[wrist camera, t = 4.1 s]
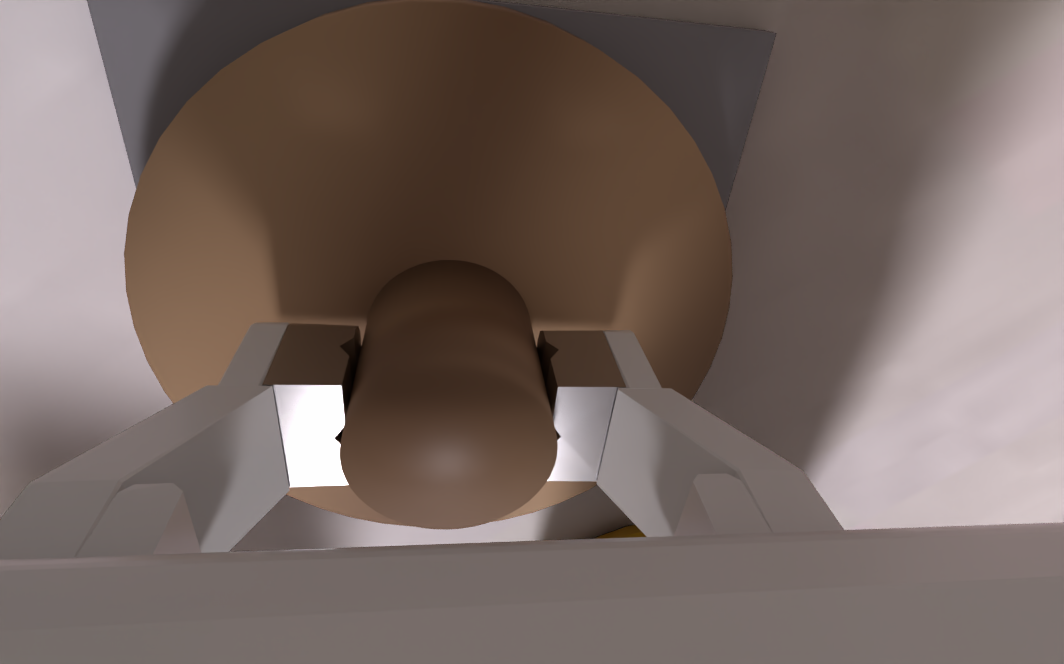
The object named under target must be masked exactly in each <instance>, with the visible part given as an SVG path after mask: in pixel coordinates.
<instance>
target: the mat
mask: <svg viewBox="0 0 1064 664" xmlns="http://www.w3.org/2000/svg"><path fill="white" fill-rule="evenodd" d="M372 1H381V0H87V2H88V6H89V10H90V14H91V18H92V21H93V25H94V29H95V33H96V37H97V40H98V44H99V48H100V52H101V56H102V60H103V63H104V67H105V71H106V75H107V79H108V82H109V86H110V90H111V94H112V98H113V101H114V105H115V109H116V113H117V117H118V121H119V124H120V128H121V132H122V136H123V140H124V143H125V147H126V151H127V155H128V159H129V163H130V166H131V170H132V174H133V178H134V182H135V185H136V189H137V186H138V182H139V179H140V176H141V174H142V172H143V170H144V168H145V166H146V164H147V162H148V160H149V158H150V156H151V154H152V152H153V150H154V148H155V146H156V144H157V142H158V140H159V138H160V137H161V135H162V134H163V133H164V131H165V130H166V129H167V127H168V126H169V125H170V123H171V122H172V121H173V119H174V118H175V117H176V115H177V114H178V113H179V111H180V110H181V109H182V107H183V106H184V105H185V103H186V102H187V101H188V100H189V99H190V98H191V97H192V96H193V95H194V94H195V93H197V92H198V91H199V90H200V89H201V88H202V87H203V86H204V85H205V84H206V83H207V82H208V81H209V80H210V79H211V78H213V77H214V76H215V75H216V74H217V73H218V72H219V71H220V70H221V69H223V68H224V67H226V66H227V65H229V64H230V63H232V62H233V61H235V60H236V59H238V58H239V57H241V56H242V55H244V54H245V53H247V52H248V51H250V50H251V49H253V48H254V47H256V46H257V45H259V44H260V43H262V42H264V41H266V40H268V39H271V38H273V37H275V36H277V35H279V34H281V33H283V32H285V31H288V30H290V29H292V28H294V27H297V26H299V25H301V24H303V23H305V22H308V21H310V20H312V19H314V18H316V17H319V16H321V15H323V14H326V13H330V12H333V11H337V10H341V9H344V8H348V7H352V6H355V5H359V4H363V3H366V2H372ZM472 1H477V2H483V3H488V4H493V5H499V6H504V7H507V8H510V9H513V10H516V11H519V12H522V13H525V14H528V15H531V16H534V17H537V18H540V19H542V20H545V21H548V22H550V23H551V24H553V25H555V26H557V27H559V28H561V29H563V30H565V31H567V32H569V33H571V34H573V35H575V36H577V37H579V38H581V39H583V40H585V41H586V42H588V43H589V44H591V45H593V46H594V47H596V48H597V49H599V50H601V51H602V52H604V53H605V54H606V55H608V56H609V57H610V58H612V59H613V60H615V61H616V62H617V63H619V64H620V65H622V66H623V67H624V68H626V69H627V70H629V71H630V72H631V73H633V74H634V75H636V76H637V77H638V78H639V79H640V80H642V81H643V82H644V83H645V84H646V85H647V86H648V87H649V88H650V89H651V90H652V91H653V92H654V93H655V94H656V95H657V96H658V97H659V98H660V99H661V100H662V101H663V102H664V103H665V104H666V105H667V106H668V107H669V108H670V109H671V110H672V112H673V113H674V114H675V116H676V117H677V118H678V120H679V121H680V122H681V124H682V125H683V126H684V128H685V129H686V130H687V132H688V133H689V134H690V136H691V137H692V138H693V139H694V141H695V143H696V145H697V147H698V148H699V150H700V152H701V154H702V156H703V158H704V160H705V161H706V163H707V165H708V167H709V169H710V171H711V173H712V174H713V177H714V180H715V183H716V186H717V189H718V191H719V194H720V197H721V200H722V203H723V205H724V208H725V210H726V207H727V203H728V200H729V196H730V193H731V189H732V186H733V182H734V179H735V175H736V172H737V168H738V165H739V161H740V158H741V154H742V151H743V148H744V144H745V141H746V137H747V134H748V130H749V127H750V123H751V120H752V116H753V113H754V109H755V106H756V102H757V99H758V96H759V92H760V89H761V85H762V82H763V78H764V75H765V71H766V68H767V64H768V61H769V57H770V54H771V50H772V47H773V43H774V40H775V37H776V33H773V32H769V31H765V30H756V29H746V28H737V27H728V26H719V25H710V24H700V23H691V22H682V21H673V20H664V19H654V18H645V17H636V16H627V15H618V14H608V13H599V12H590V11H581V10H572V9H562V8H553V7H544V6H535V5H526V4H516V3H507V2H498V1H489V0H472Z"/></svg>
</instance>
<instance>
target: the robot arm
mask: <svg viewBox="0 0 1064 664" xmlns="http://www.w3.org/2000/svg"><path fill="white" fill-rule="evenodd" d="M360 351H361V335H360V329H359V326H352V325H327V324H302V323H291V324H290V323H284V322H256V323H254V324H252V325H251V326H250V327H249V329H248V331H247V332H246V334H245V336H244V338H243V340H242V342H241V343H240V345H239V347H238V349H237V351H236V353H235V355H234V356H233V358H232V360H231V362H230V364H229V366H228V367H227V369H226V371H225V373H224V375H223V377H222V379H221V380H220V382H219V384H218V385H207V386H205V387H203V388H201V389H199V390H198V391H196V392H194V393H192V394H190V395H188V396H187V397H185V398H183V399H181V400H179V401H178V402H176V403H174V404H172V405H170V406H168V407H167V408H165V409H163V410H161V411H159V412H157V413H156V414H154V415H152V416H150V417H148V418H147V419H145V420H143V421H141V422H139V423H137V424H136V425H134V426H132V427H130V428H128V429H126V430H125V431H123V432H121V433H119V434H117V435H116V436H114V437H112V438H110V439H108V440H106V441H105V442H103V443H101V444H99V445H97V446H95V447H94V448H92V449H90V450H88V451H86V452H84V453H83V454H81V455H79V456H77V457H75V458H74V459H72V460H70V461H68V462H66V463H64V464H63V465H61V466H59V467H57V468H55V469H53V470H52V471H50V472H48V473H46V474H44V475H43V476H41V477H39V478H37V479H35V480H33V481H32V482H30V483H29V484H28V485H27V486H26V487H25V489H24V490H23V491H22V492H21V494H20V495H19V496H18V497H17V499H16V500H15V501H14V502H13V504H12V505H11V506H10V507H9V509H8V510H7V511H6V512H5V514H4V515H3V516H2V517H1V519H0V664H1064V522H1061V523H1033V524H1004V525H975V526H947V527H918V528H889V529H861V530H844V529H843V528H842V526H841V525H840V523H839V522H838V520H837V519H836V517H835V516H834V515H833V513H832V512H831V510H830V509H829V507H828V506H827V504H826V503H825V502H824V500H823V499H822V497H821V496H820V494H819V493H818V491H817V490H816V488H815V487H814V486H813V484H812V483H811V481H810V480H809V478H808V477H807V475H806V474H805V473H804V471H803V470H801V469H800V468H798V467H797V466H795V465H793V464H792V463H790V462H789V461H787V460H785V459H784V458H782V457H781V456H779V455H777V454H776V453H774V452H772V451H771V450H769V449H768V448H766V447H764V446H763V445H761V444H760V443H758V442H756V441H755V440H753V439H752V438H750V437H748V436H747V435H745V434H744V433H742V432H740V431H739V430H737V429H736V428H734V427H732V426H731V425H729V424H727V423H726V422H724V421H723V420H721V419H719V418H718V417H716V416H715V415H713V414H711V413H710V412H708V411H707V410H705V409H703V408H702V407H700V406H699V405H697V404H695V403H694V402H692V401H690V400H689V399H687V398H686V397H684V396H682V395H681V394H679V393H678V392H676V391H674V390H673V389H671V388H662V387H661V385H660V383H659V381H658V379H657V377H656V375H655V373H654V371H653V369H652V367H651V365H650V363H649V362H648V360H647V358H646V356H645V354H644V352H643V350H642V348H641V346H640V344H639V342H638V340H637V338H636V336H635V334H634V332H632V331H630V330H574V331H540V333H539V336H538V341H537V351H538V356H539V360H540V364H541V369H542V373H543V378H544V382H545V386H546V391H547V395H548V400H549V404H550V408H551V413H552V417H553V422H554V426H555V430H556V435H557V444H558V449H557V458H556V462H555V466H554V468H553V471H552V473H551V475H550V477H549V478H548V480H547V481H597V485H598V486H599V487H600V488H601V489H602V490H603V491H604V492H605V493H606V494H607V495H608V497H609V498H610V499H611V500H612V501H613V502H614V503H615V504H616V505H617V506H618V507H619V508H620V509H621V510H622V511H623V512H624V513H625V514H626V516H627V517H628V518H629V519H630V520H631V521H632V522H633V523H634V524H635V525H636V526H637V527H638V528H639V529H640V530H641V531H642V532H643V533H644V534H645V536H646V537H634V538H604V539H574V540H545V541H517V542H490V543H462V544H435V545H407V546H380V547H352V548H325V549H296V550H267V551H239V552H229V551H230V550H231V549H232V548H233V547H234V546H235V545H236V544H237V543H238V542H239V541H240V540H241V539H242V538H243V537H244V536H245V535H246V534H247V533H248V532H249V531H250V530H251V529H252V528H253V527H254V526H255V525H256V524H257V523H258V522H259V521H260V520H261V519H262V518H263V517H264V516H265V515H266V514H267V513H268V512H269V511H270V510H271V509H272V508H273V507H274V506H275V505H276V504H277V503H278V502H279V501H280V500H281V499H282V498H283V497H284V496H285V495H286V494H287V493H288V492H289V491H290V490H289V487H309V486H331V485H349V484H348V483H347V481H346V479H345V477H344V474H343V472H342V469H341V464H340V443H341V438H342V433H343V428H344V424H345V419H346V415H347V410H348V406H349V401H350V397H351V392H352V387H353V383H354V378H355V374H356V369H357V365H358V360H359V356H360Z"/></svg>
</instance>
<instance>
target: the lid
mask: <svg viewBox="0 0 1064 664" xmlns="http://www.w3.org/2000/svg"><path fill="white" fill-rule="evenodd" d="M124 258H125V277H126V292H127V297H128V302H129V306H130V311H131V315H132V320H133V324H134V328H135V331H136V333H137V336H138V338H139V341H140V344H141V346H142V349H143V351H144V354H145V357H146V359H147V361H148V363H149V365H150V367H151V368H152V370H153V372H154V374H155V376H156V377H157V379H158V381H159V383H160V384H161V386H162V388H163V390H164V391H165V393H166V394H167V395H168V397H169V398H170V399H171V401H172V402H173V403H176V402H178V401H179V400H181V399H183V398H185V397H187V396H188V395H190V394H192V393H194V392H196V391H198V390H199V389H201V388H203V387H205V386H207V385H218V384H219V382H220V380H221V379H222V377H223V375H224V373H225V371H226V369H227V367H228V366H229V364H230V362H231V360H232V358H233V356H234V355H235V353H236V351H237V349H238V347H239V345H240V343H241V342H242V340H243V338H244V336H245V334H246V332H247V331H248V329H249V327H250V326H251V325H252V324H254V323H256V322H284V323H290V324H291V323H302V324H327V325H352V326H359V329H360V335H361V351H360V356H359V360H358V365H357V369H356V374H355V378H354V383H353V387H352V392H351V397H350V401H349V406H348V410H347V415H346V419H345V424H344V428H343V433H342V438H341V443H340V464H341V469H342V472H343V474H344V477H345V479H346V481H347V483H348V484H349V485H331V486H309V487H289V490H290V491H289V492H288V493H287V495H289V496H291V497H293V498H295V499H298V500H300V501H303V502H306V503H308V504H311V505H313V506H316V507H318V508H321V509H324V510H328V511H331V512H335V513H338V514H342V515H345V516H349V517H352V518H357V519H363V520H368V521H373V522H378V523H384V524H394V525H404V526H416V527H421V528H429V529H459V528H467V527H473V526H477V525H481V524H485V523H488V522H493V521H499V520H505V519H509V518H513V517H517V516H521V515H525V514H529V513H533V512H535V511H538V510H541V509H544V508H547V507H550V506H553V505H555V504H558V503H561V502H563V501H565V500H568V499H570V498H572V497H574V496H576V495H579V494H581V493H583V492H585V491H587V490H589V489H591V488H592V487H594V486H596V485H597V481H547V480H548V478H549V477H550V475H551V473H552V471H553V468H554V466H555V462H556V458H557V449H558V444H557V435H556V430H555V426H554V422H553V417H552V413H551V408H550V404H549V400H548V395H547V391H546V386H545V382H544V378H543V373H542V369H541V364H540V360H539V356H538V351H537V341H538V336H539V333H540V331H574V330H630V331H632V332H634V334H635V336H636V338H637V340H638V342H639V344H640V346H641V348H642V350H643V352H644V354H645V356H646V358H647V360H648V362H649V363H650V365H651V367H652V369H653V371H654V373H655V375H656V377H657V379H658V381H659V383H660V385H661V387H662V388H671V389H673V390H674V391H676V392H678V393H679V394H681V395H682V396H684V397H686V398H687V399H689V400H690V401H691V399H692V398H693V397H694V395H695V394H696V392H697V390H698V388H699V387H700V385H701V383H702V381H703V379H704V378H705V376H706V374H707V372H708V370H709V369H710V367H711V364H712V362H713V359H714V357H715V354H716V352H717V349H718V347H719V344H720V342H721V339H722V335H723V331H724V327H725V323H726V319H727V315H728V311H729V305H730V296H731V286H732V277H733V275H732V250H731V239H730V234H729V229H728V224H727V218H726V213H725V208H724V205H723V203H722V200H721V197H720V194H719V191H718V189H717V186H716V183H715V180H714V177H713V174H712V173H711V171H710V169H709V167H708V165H707V163H706V161H705V160H704V158H703V156H702V154H701V152H700V150H699V148H698V147H697V145H696V143H695V141H694V139H693V138H692V137H691V136H690V134H689V133H688V132H687V130H686V129H685V128H684V126H683V125H682V124H681V122H680V121H679V120H678V118H677V117H676V116H675V114H674V113H673V112H672V110H671V109H670V108H669V107H668V106H667V105H666V104H665V103H664V102H663V101H662V100H661V99H660V98H659V97H658V96H657V95H656V94H655V93H654V92H653V91H652V90H651V89H650V88H649V87H648V86H647V85H646V84H645V83H644V82H643V81H642V80H640V79H639V78H638V77H637V76H636V75H634V74H633V73H631V72H630V71H629V70H627V69H626V68H624V67H623V66H622V65H620V64H619V63H617V62H616V61H615V60H613V59H612V58H610V57H609V56H608V55H606V54H605V53H604V52H602V51H601V50H599V49H597V48H596V47H594V46H593V45H591V44H589V43H588V42H586V41H585V40H583V39H581V38H579V37H577V36H575V35H573V34H571V33H569V32H567V31H565V30H563V29H561V28H559V27H557V26H555V25H553V24H551V23H550V22H548V21H545V20H542V19H540V18H537V17H534V16H531V15H528V14H525V13H522V12H519V11H516V10H513V9H510V8H507V7H504V6H499V5H493V4H488V3H483V2H477V1H472V0H381V1H372V2H366V3H363V4H359V5H355V6H352V7H348V8H344V9H341V10H337V11H333V12H330V13H326V14H323V15H321V16H319V17H316V18H314V19H312V20H310V21H308V22H305V23H303V24H301V25H299V26H297V27H294V28H292V29H290V30H288V31H285V32H283V33H281V34H279V35H277V36H275V37H273V38H271V39H268V40H266V41H264V42H262V43H260V44H259V45H257V46H256V47H254V48H253V49H251V50H250V51H248V52H247V53H245V54H244V55H242V56H241V57H239V58H238V59H236V60H235V61H233V62H232V63H230V64H229V65H227V66H226V67H224V68H223V69H221V70H220V71H219V72H218V73H217V74H216V75H215V76H214V77H213V78H211V79H210V80H209V81H208V82H207V83H206V84H205V85H204V86H203V87H202V88H201V89H200V90H199V91H198V92H197V93H195V94H194V95H193V96H192V97H191V98H190V99H189V100H188V101H187V102H186V103H185V105H184V106H183V107H182V109H181V110H180V111H179V113H178V114H177V115H176V117H175V118H174V119H173V121H172V122H171V123H170V125H169V126H168V127H167V129H166V130H165V131H164V133H163V134H162V135H161V137H160V138H159V140H158V142H157V144H156V146H155V148H154V150H153V152H152V154H151V156H150V158H149V160H148V162H147V164H146V166H145V168H144V170H143V172H142V174H141V176H140V179H139V182H138V186H137V189H136V192H135V196H134V199H133V202H132V206H131V209H130V212H129V217H128V226H127V234H126V243H125V251H124Z"/></svg>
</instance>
